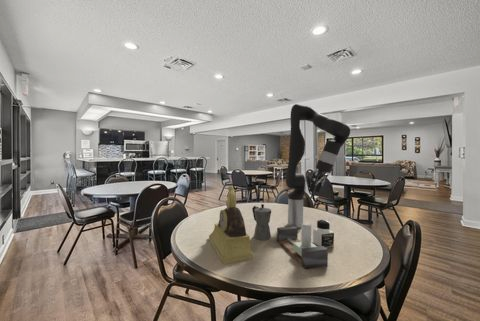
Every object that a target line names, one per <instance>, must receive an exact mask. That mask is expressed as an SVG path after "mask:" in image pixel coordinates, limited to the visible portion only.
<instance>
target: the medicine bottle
mask: <svg viewBox="0 0 480 321" xmlns="http://www.w3.org/2000/svg"><path fill="white" fill-rule="evenodd" d="M312 231H313V232H312V233H313V234H312V243H313V244H314V245H316V246H317V247H319V246H324V247H325V248H331V247H334V246H335V232H334V231H332V230H331V223H330V221H328V220H326V219H319V220H317V221H316V228H313V229H312Z"/></svg>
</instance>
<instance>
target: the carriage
mask: <svg viewBox="0 0 480 321" xmlns="http://www.w3.org/2000/svg"><path fill="white" fill-rule="evenodd" d="M300 233H301V239H300V241H301V242H295V243H293V249H294V250H295V251H296V252H297V253H298V254H299V255H300V256H301V255H302V248H310V247H318V245H316V244H315V243H313V242H312V225H311V224H310V223H303V224H302V227H301V232H300Z"/></svg>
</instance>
